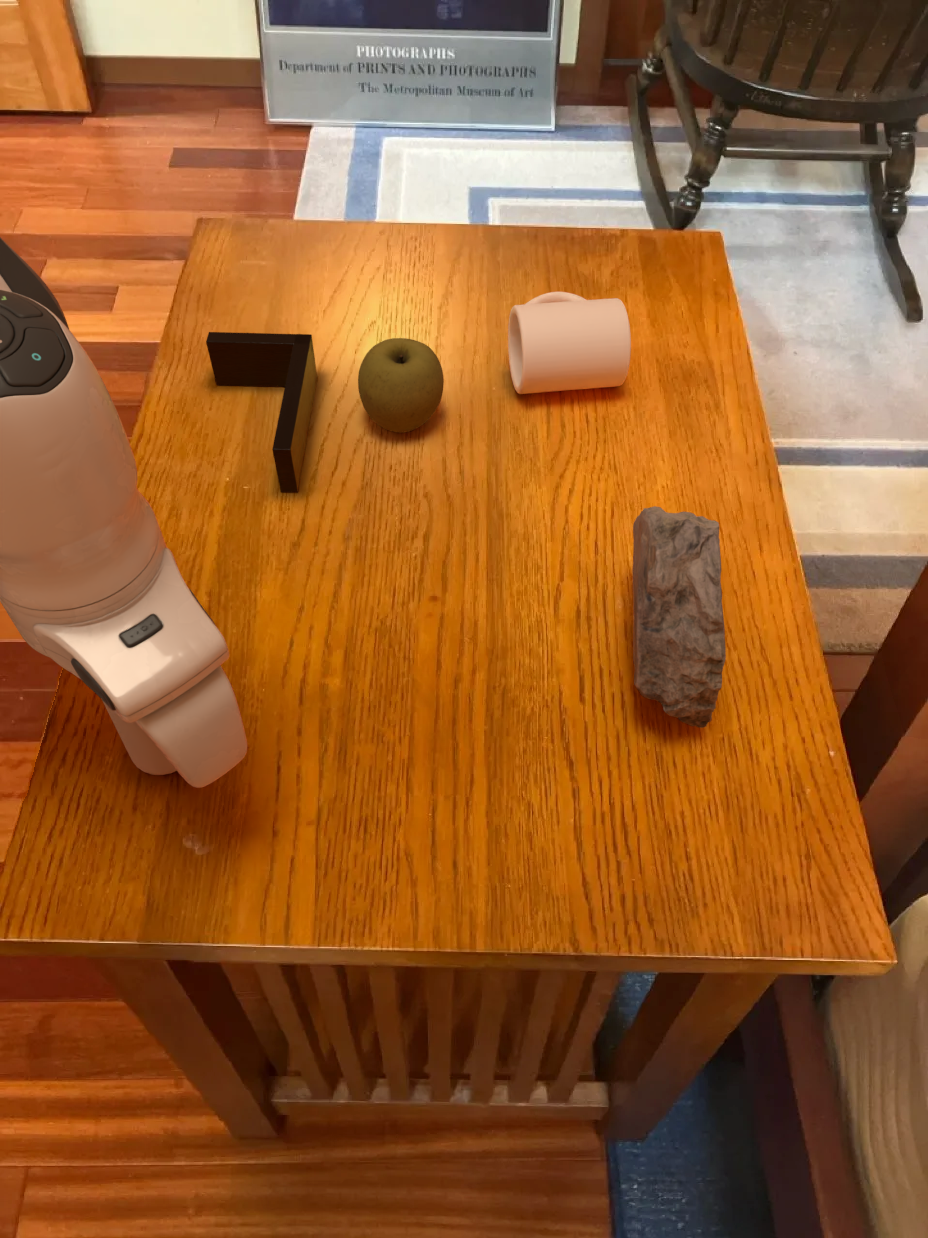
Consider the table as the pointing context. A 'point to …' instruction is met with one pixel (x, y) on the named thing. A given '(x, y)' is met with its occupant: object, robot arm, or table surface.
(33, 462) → the robot arm
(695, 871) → the table surface
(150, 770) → the beverage can
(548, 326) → the mug
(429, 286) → the table surface
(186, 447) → the table surface
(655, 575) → the decorative rock
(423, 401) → the apple
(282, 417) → the bracket
